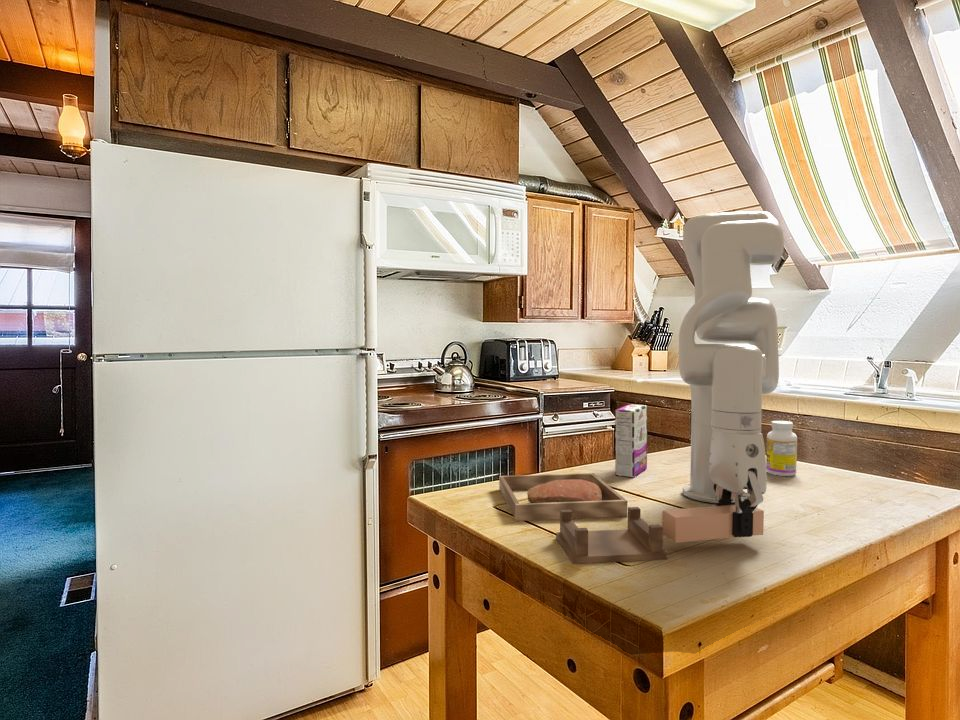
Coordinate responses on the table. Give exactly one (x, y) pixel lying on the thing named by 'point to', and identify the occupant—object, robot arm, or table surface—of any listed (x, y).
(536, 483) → the low wooden frame
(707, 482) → the robot arm
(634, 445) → the candy bar box
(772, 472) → the supplement bottle
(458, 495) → the table surface
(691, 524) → the tan pink long block
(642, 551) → the rack
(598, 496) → the ceramic shard
